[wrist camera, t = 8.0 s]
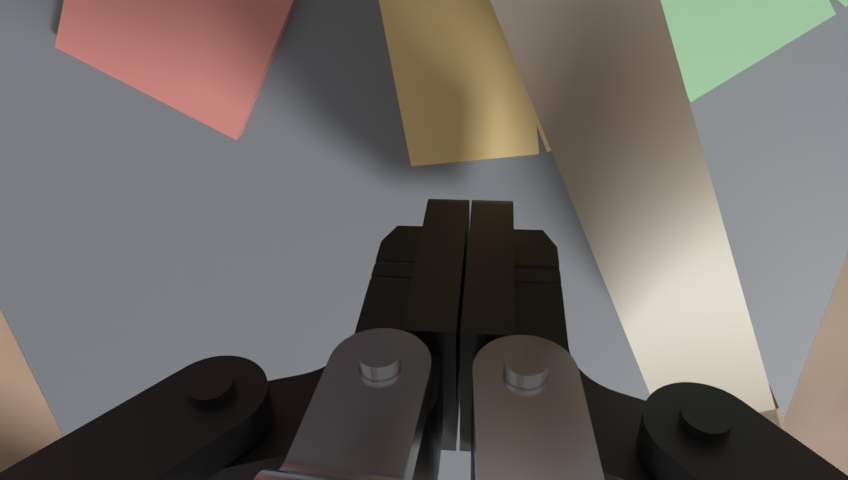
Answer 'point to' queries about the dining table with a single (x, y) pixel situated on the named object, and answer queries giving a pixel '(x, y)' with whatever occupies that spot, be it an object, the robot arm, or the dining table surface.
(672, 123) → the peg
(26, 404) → the dining table surface
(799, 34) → the grey flat slab
